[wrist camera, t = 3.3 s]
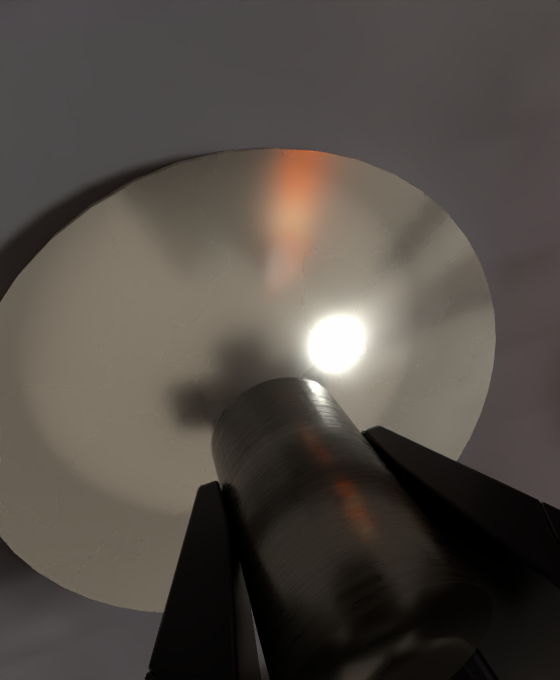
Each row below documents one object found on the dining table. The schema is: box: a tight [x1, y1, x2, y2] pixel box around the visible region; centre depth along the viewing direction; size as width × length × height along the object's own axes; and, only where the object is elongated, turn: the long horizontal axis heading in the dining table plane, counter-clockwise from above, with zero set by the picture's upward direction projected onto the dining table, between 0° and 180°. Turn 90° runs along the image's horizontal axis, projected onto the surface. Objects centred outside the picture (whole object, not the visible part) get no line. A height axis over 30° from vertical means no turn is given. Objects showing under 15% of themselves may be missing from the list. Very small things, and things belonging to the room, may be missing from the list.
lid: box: [0, 148, 496, 680], centre depth 8 cm, size 12×12×6 cm
